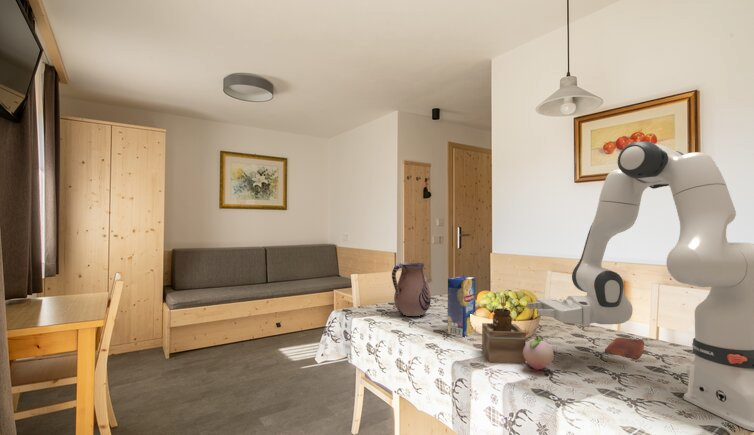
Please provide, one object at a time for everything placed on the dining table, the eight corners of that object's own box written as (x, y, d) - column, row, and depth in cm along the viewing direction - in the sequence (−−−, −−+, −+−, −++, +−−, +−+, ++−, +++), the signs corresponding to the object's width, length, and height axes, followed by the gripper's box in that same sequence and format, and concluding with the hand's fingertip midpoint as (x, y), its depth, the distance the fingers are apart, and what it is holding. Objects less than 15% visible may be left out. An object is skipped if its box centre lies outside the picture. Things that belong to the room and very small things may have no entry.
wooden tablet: (639, 362, 120) (639, 357, 120) (603, 355, 127) (603, 350, 127) (647, 343, 141) (647, 338, 141) (616, 337, 147) (616, 333, 147)
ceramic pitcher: (437, 315, 181) (438, 263, 181) (410, 323, 165) (411, 266, 166) (409, 309, 193) (409, 261, 193) (381, 316, 177) (382, 263, 178)
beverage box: (475, 331, 152) (475, 277, 153) (463, 337, 143) (463, 280, 144) (460, 328, 156) (460, 276, 157) (447, 334, 148) (447, 278, 148)
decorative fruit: (552, 378, 105) (552, 342, 105) (521, 372, 109) (521, 338, 109) (554, 367, 113) (554, 334, 113) (526, 362, 117) (525, 330, 117)
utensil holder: (509, 329, 126) (509, 293, 127) (513, 334, 120) (513, 297, 120) (491, 328, 127) (491, 293, 128) (494, 333, 121) (494, 296, 121)
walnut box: (525, 363, 116) (525, 332, 117) (489, 362, 117) (489, 331, 117) (514, 351, 127) (514, 323, 128) (482, 350, 128) (482, 323, 128)
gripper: (562, 294, 132) (521, 293, 132) (591, 306, 111) (544, 305, 112) (562, 312, 131) (522, 311, 132) (592, 327, 111) (544, 326, 112)
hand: (532, 308), depth 122 cm, fingers open, 8 cm apart
